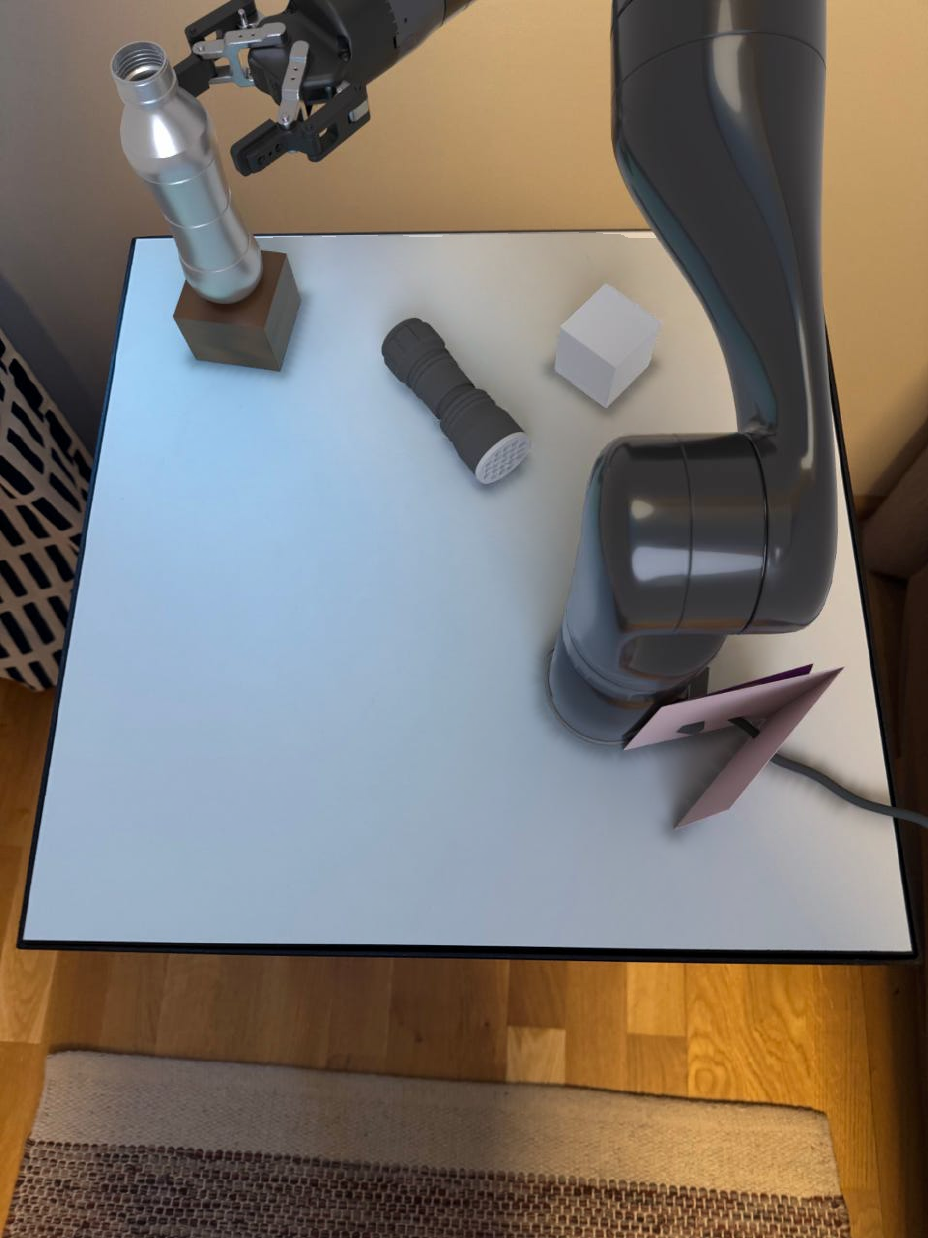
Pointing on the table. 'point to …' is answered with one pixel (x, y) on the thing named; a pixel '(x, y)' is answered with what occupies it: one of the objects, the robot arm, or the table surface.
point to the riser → (243, 320)
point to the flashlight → (455, 401)
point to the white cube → (606, 345)
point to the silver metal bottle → (184, 174)
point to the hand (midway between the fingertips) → (198, 130)
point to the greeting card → (763, 698)
